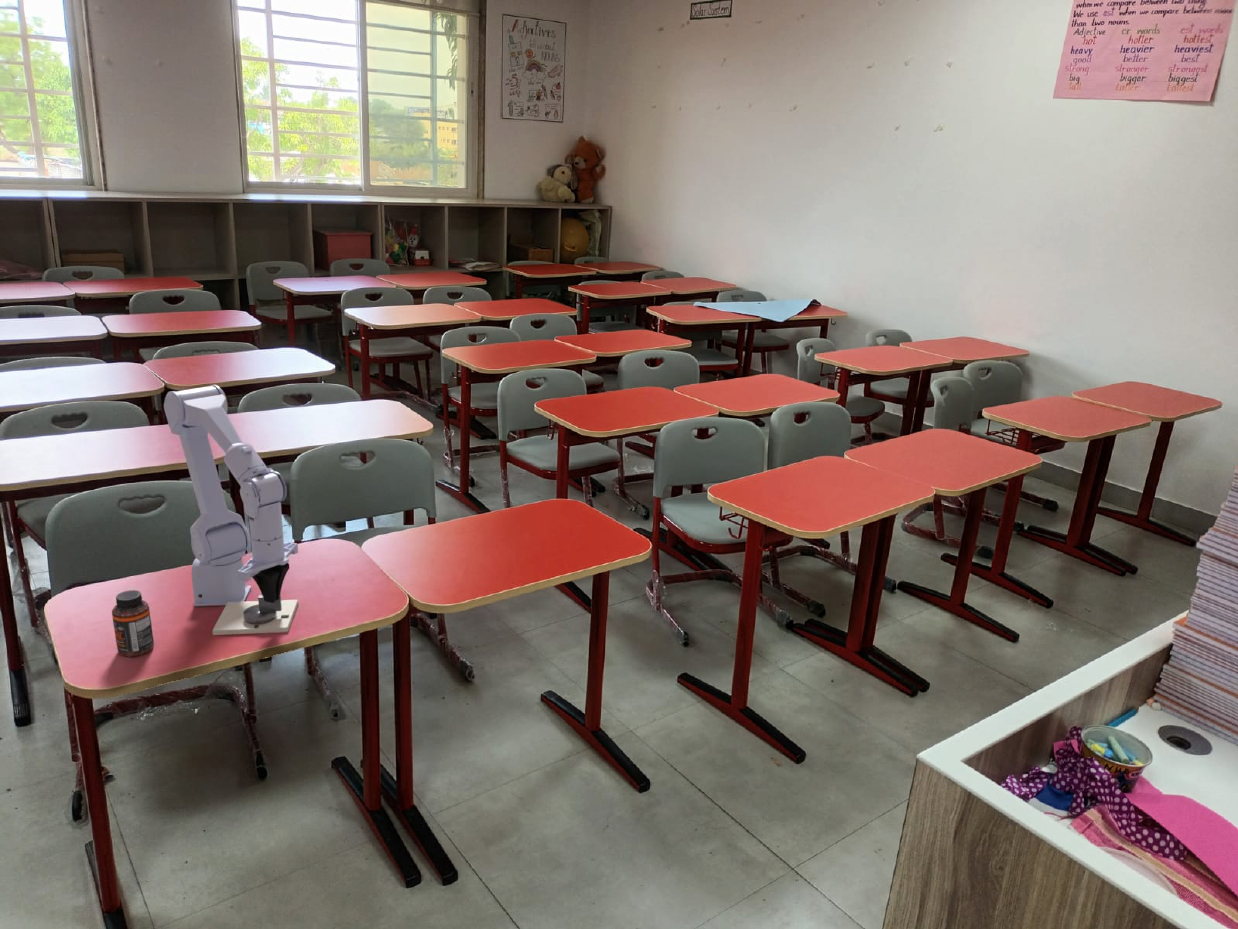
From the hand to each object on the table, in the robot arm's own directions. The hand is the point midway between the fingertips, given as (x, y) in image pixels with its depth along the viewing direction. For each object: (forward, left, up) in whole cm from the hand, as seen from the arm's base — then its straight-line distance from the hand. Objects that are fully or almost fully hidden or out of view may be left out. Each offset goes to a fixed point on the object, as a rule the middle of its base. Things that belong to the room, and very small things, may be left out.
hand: (272, 600), depth 168 cm
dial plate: (-4, +3, -6) cm, 8 cm away
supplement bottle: (-23, -7, -6) cm, 25 cm away
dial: (-2, +2, -4) cm, 5 cm away
